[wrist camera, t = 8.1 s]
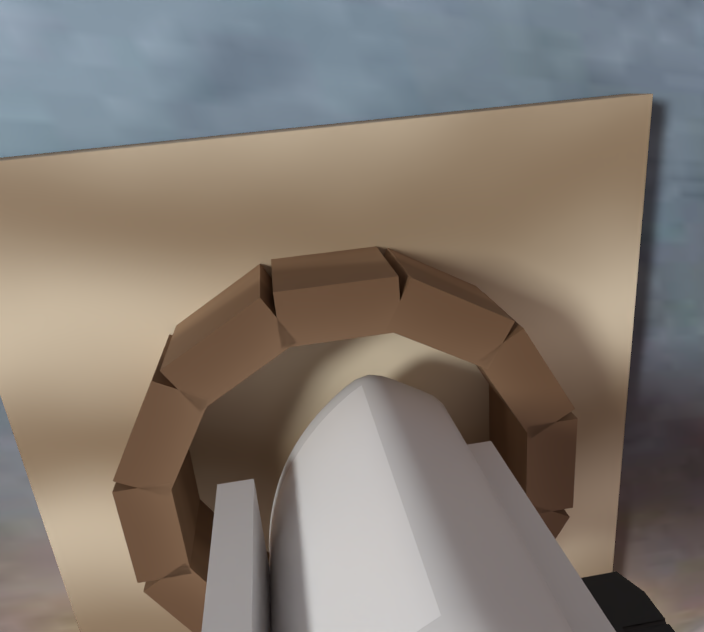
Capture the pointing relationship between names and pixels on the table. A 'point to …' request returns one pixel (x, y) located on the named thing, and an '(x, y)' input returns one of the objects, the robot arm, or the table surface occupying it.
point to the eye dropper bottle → (396, 527)
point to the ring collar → (312, 321)
